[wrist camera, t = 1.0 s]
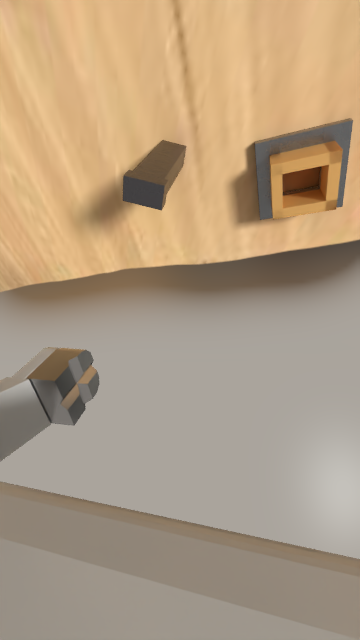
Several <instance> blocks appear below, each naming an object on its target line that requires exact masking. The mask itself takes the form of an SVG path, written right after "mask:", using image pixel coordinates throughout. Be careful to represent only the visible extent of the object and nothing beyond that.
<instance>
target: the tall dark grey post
mask: <svg viewBox="0 0 360 640" xmlns="http://www.w3.org/2000/svg"><path fill="white" fill-rule="evenodd" d="M185 151H186V146H184V145H180V144H176V143H172V142H168V141H164V140H162V141H161V142H160V143H159V144H158V145H157V146H156V147H155V148H154V150H153V151H152V152H151V153H150V154H149V155H148V156H147V157H146V158H145V159H144V160H143V161H142V162H141V163H140V164H139V165H138V166H137V167H136V168H135V169H134V170H133V171H130V170H128V171H127V172H126V173H125V174H124V176H123V201H127V202H131V203H135V204H139V205H142V206H146V207H150V208H154V209H158V210H162V209H163V207H164V205H165V201H166V194H167V193H168V191H169V189H170V188H171V186H172V184H173V182H174V181H175V179H176V177H177V176H178V174H179V172H180V170H181V169H182V167H183V163H184V157H185Z"/></svg>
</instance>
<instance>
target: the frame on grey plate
mask: <svg viewBox="0 0 360 640" xmlns="http://www.w3.org/2000/svg"><path fill="white" fill-rule="evenodd" d="M352 123H353V120H352V119H351V118H349V119H345V120H341V121H337V122H333V123H329V124H325V125H321V126H317V127H313V128H308V129H304V130H300V131H296V132H292V133H288V134H284V135H280V136H276V137H272V138H268V139H264V140H260V141H255V153H256V167H257V182H258V196H259V210H260V220H262V219H268V218H273V219H279V218H285V217H291V216H297V215H304V214H310V213H316V212H322V211H329V210H335V209H336V207H342V205H343V196H344V188H345V180H346V172H347V164H348V156H349V148H350V140H351V132H352ZM315 167H320V174H319V186H315V187H309V188H304V189H298V190H293V191H288V192H283V189H282V174H286V173H291V172H295V171H300V170H305V169H310V168H315Z"/></svg>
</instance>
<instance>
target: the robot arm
mask: <svg viewBox="0 0 360 640" xmlns="http://www.w3.org/2000/svg"><path fill="white" fill-rule="evenodd" d="M92 363H93V358H92V355H91V353H90V352H89V351H87V350H81V349H68V348H52V347H48V348H44V349H43V350H42V351H41V352H39V353H38V354H37V355H36V356H35V357H34V358H33V359H31V360H30V361H29V362H28V363H27V364H26V365H25V366H24V367H22V368H21V369H20V370H19V371H18V372H17V373H16V374H15V375H13V376H12V377H11V378H9V377H7V378H5V379H2V380H0V461H2V460H3V459H4V458H5V457H7V456H9V455H10V454H11V453H13V452H14V451H15V450H16V449H18V448H19V447H21V446H22V445H24V444H25V443H26V442H28V441H29V440H30V439H32V438H33V437H34V436H36V435H37V434H38V433H40V432H41V431H43V430H44V429H45V428H47V427H48V426H49V425H51V423H55V424H64V425H75V424H76V422H77V421H78V419H79V418H80V416H81V415H82V414H83V412H84V411H85V403H86V402H88V401H90V400H91V399H93V397H94V396H95V394H96V393H97V390H98V386H99V375H98V372H97V370H96V369H94V367H92V366H91V365H92ZM0 640H360V559H356V558H352V557H347V556H343V555H338V554H333V553H329V552H324V551H319V550H315V549H310V548H305V547H301V546H296V545H292V544H287V543H283V542H278V541H273V540H269V539H264V538H260V537H255V536H250V535H246V534H241V533H236V532H232V531H227V530H222V529H218V528H213V527H209V526H204V525H200V524H195V523H190V522H186V521H181V520H176V519H171V518H167V517H163V516H158V515H153V514H148V513H144V512H139V511H135V510H130V509H125V508H121V507H116V506H111V505H107V504H102V503H97V502H93V501H88V500H84V499H79V498H74V497H70V496H65V495H60V494H56V493H51V492H46V491H41V490H37V489H33V488H28V487H23V486H19V485H14V484H9V483H5V482H0Z"/></svg>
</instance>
